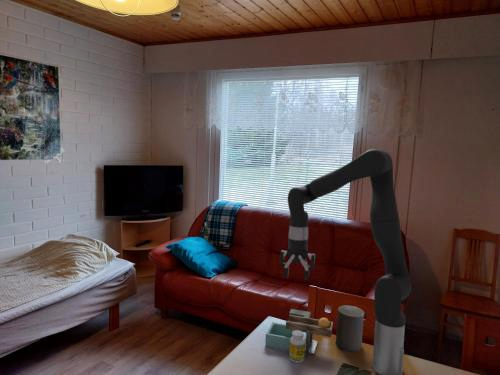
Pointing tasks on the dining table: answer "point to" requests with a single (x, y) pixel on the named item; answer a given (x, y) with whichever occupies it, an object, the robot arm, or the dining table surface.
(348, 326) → the pillar candle
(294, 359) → the supplement bottle
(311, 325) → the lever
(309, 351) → the stand
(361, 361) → the dining table surface
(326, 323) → the ball
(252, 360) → the dining table surface
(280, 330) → the green open box
